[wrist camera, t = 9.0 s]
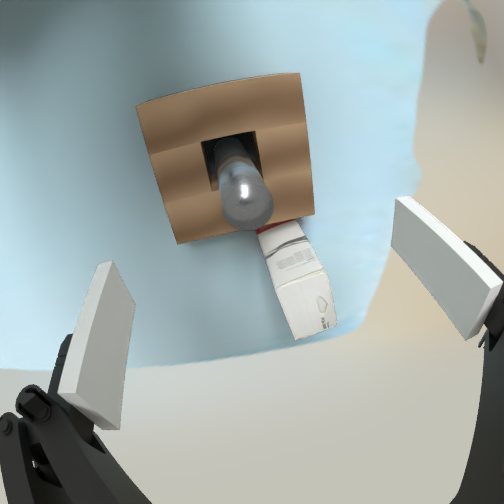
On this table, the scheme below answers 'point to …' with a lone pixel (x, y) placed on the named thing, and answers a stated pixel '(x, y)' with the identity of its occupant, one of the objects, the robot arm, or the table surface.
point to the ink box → (297, 278)
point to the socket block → (224, 124)
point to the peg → (241, 187)
